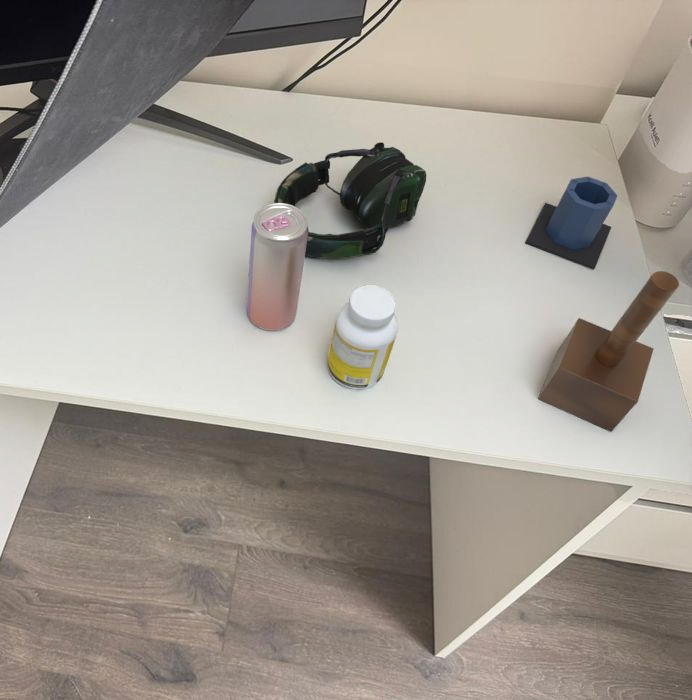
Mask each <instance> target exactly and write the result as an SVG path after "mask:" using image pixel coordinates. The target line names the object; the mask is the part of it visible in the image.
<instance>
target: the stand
mask: <svg viewBox="0 0 692 700" xmlns="http://www.w3.org/2000/svg"><path fill="white" fill-rule="evenodd" d="M679 287H680V282H679V280H678V278H677V277H676V276H675V275H673V274H672V273H670V272H668V271H663V270H657V271H654V272H653V273H652V274H651V275H650V277H649V278H648V279H647V281H646V283H645V284H644V285H643V286H642V288H641V289H640V291H639V292H638V293H637V295H636V296H635V297H634V299H633V300H632V302H631V303H630V304H629V306H627V308H626V310H625V311H624V313H623V314H622V315H621V317H620V318H619V320H618V321H617V322H616V324H615V325H614V326H613V328H612V329H611V330H609V329H607V328H605V327H603V326H600V325H597V324H595V323H593V322H590V321H587V320H586V319H583V318H580V317H579V318H577V320H576V321H575V323H574V325H573V326H572V327H571V329H570V331H569V332H568V333H567V335H566V337H565V338H564V339H563V341H562V343H561V344H560V346H559V347H558V349H557V351H556V353H555V356H554V358H553V360H552V363H551V366H550V368H549V370H548V373H547V375H546V378H545V380H544V382H543V385H542V388H541V390H540V393H539V396H538V398H537V399H538V400H539V401H542V402H543V403H546V404H548V405H550V406H553V407H555V408H557V409H559V410H561V411H564V412H566V413H568V414H570V415H573V416H574V417H577V418H580V419H581V420H583V421H586V422H588V423H590V424H593V425H595V426H596V427H600V428H601V429H604V430H605V431H608V432H613V431H614V429H615V428H617V426H618V425H619V424H620V423H621V421H622V420H623V419H624V418H625V417H626V416H627V415H628V414H629V412H630V411H631V410H632V409H633V408H634V407H635V406H636V405H637V403H638V402H639V399H640V396H641V392H642V390H643V386H644V383H645V379H646V376H647V373H648V369H649V366H650V363H651V360H652V356H653V353H654V347H651V346H649V345H646V344H644V343H641V342H639V341H638V340H639V338H640V337H641V335H642V334H643V333H644V332H645V330H647V328H648V327H649V325H650V324H651V323H652V322H653V320H654V319H655V318H656V316H657V315H658V314H659V312H660V311H661V310H662V309H663V307H665V305H666V304H667V302H668V301H669V300H670V299H671V297H672V296H673V295H674V293H676V291H677V290H678V288H679Z"/></svg>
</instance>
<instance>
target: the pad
mask: <svg viewBox="0 0 692 700" xmlns="http://www.w3.org/2000/svg"><path fill="white" fill-rule="evenodd" d="M556 208H557V205H553V204H550V203H548V202H544V205H542V208H541V211H540V212H539V214H538V216H537V218H536V220H535V222H534V224H533V226H532V229H531V230H530V233H529V234H528V236H527V238H526V240H525V242H524V243H525V244H526V245H529V246H531V247H534V248H536V249H539V250H541V251H545V252H547V253H549V254H552V255H555V256H557V257H560V258H562V259H565V260H568V261H570V262H573V263H575V264H577V265H580V266H583V267H586V268H588V269H591V270H595V269H596V267H597V264H598V262H599V259H600V257H601V254H602V253H603V249H604V247H605V245H606V242H607V239H608V236H609V234H610V232H611V229H612V226H611V225H608V224H605V223H603V224H602V226H601V228H600V229H599V231H598V233H597V234H596V236H595V238H594V239H593V241H592V243H591V244H590V246H589V247H586V248H580V249H574V250H572V249H569V248H567V247H564V246H561V245H559V244H556V243H554V242H553V240H552V239H551V237H550V236H549V235H548V233H547V232H546V228H547V226H548V224H549V221H550V219H551V217H552V216H553V214H554V212H555V210H556Z"/></svg>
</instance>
